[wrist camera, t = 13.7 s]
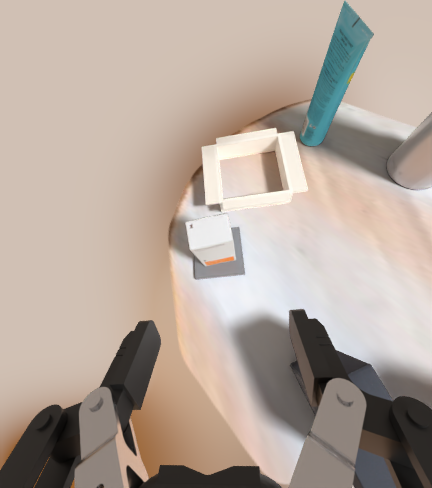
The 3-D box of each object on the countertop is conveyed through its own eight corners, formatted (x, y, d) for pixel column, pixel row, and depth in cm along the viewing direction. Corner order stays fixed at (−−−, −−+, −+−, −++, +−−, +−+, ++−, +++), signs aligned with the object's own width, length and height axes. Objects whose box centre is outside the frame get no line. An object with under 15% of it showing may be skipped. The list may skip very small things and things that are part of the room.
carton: (288, 140, 45) (292, 124, 41) (303, 208, 40) (310, 197, 36) (204, 154, 46) (201, 140, 43) (209, 220, 42) (206, 212, 38)
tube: (331, 145, 43) (394, 25, 25) (309, 154, 43) (355, 41, 25) (313, 120, 45) (358, -6, 27) (292, 129, 45) (323, 9, 27)
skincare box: (205, 267, 38) (187, 250, 27) (201, 245, 40) (183, 220, 28) (237, 261, 38) (233, 240, 26) (232, 239, 39) (227, 211, 28)
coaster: (239, 228, 40) (239, 227, 40) (245, 274, 37) (244, 274, 37) (193, 234, 41) (193, 233, 41) (196, 279, 38) (195, 279, 38)
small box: (383, 441, 28) (475, 530, 17) (338, 463, 28) (399, 566, 17) (328, 344, 33) (372, 363, 21) (288, 362, 33) (311, 391, 21)
